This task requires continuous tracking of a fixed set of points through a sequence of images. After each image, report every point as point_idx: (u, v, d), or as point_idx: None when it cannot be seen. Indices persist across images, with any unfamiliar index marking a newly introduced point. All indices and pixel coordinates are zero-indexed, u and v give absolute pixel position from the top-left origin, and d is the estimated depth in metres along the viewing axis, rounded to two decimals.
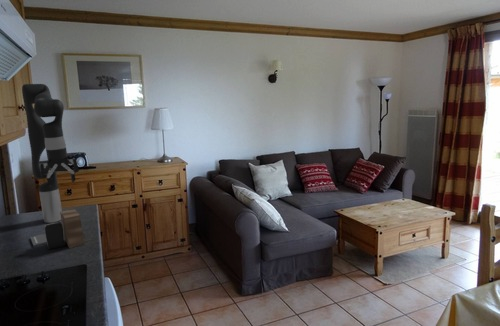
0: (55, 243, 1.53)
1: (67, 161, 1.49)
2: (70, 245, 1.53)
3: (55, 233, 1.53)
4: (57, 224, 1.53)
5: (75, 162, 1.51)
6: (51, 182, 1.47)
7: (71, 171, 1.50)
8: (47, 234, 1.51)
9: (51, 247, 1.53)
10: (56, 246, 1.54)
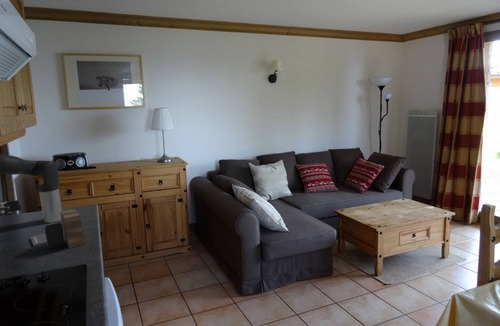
0: (55, 243, 1.53)
1: None
2: (70, 245, 1.53)
3: (55, 233, 1.53)
4: (57, 224, 1.53)
5: None
6: (14, 206, 1.47)
7: None
8: (47, 234, 1.51)
9: (51, 247, 1.53)
10: (56, 246, 1.54)
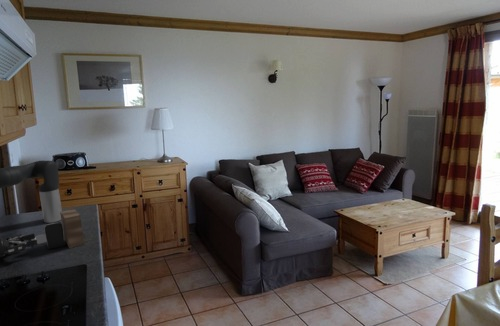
0: (55, 243, 1.53)
1: None
2: (70, 245, 1.53)
3: (55, 233, 1.53)
4: (57, 224, 1.53)
5: None
6: (30, 239, 1.52)
7: None
8: (47, 234, 1.51)
9: (51, 247, 1.53)
10: (56, 246, 1.54)
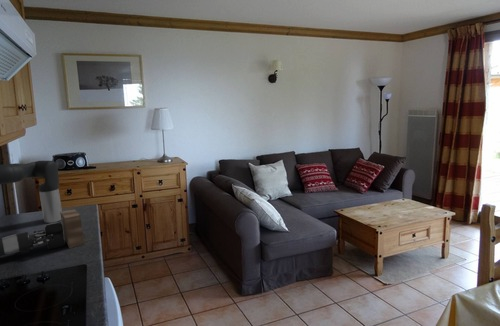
0: (55, 243, 1.53)
1: None
2: (70, 245, 1.53)
3: None
4: (57, 224, 1.53)
5: None
6: None
7: None
8: (47, 234, 1.51)
9: (51, 247, 1.53)
10: (56, 246, 1.54)
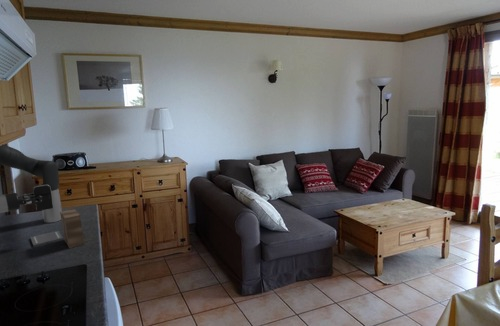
0: (44, 205, 1.58)
1: None
2: (70, 245, 1.53)
3: None
4: (46, 186, 1.57)
5: None
6: None
7: None
8: None
9: (40, 209, 1.57)
10: (45, 208, 1.58)
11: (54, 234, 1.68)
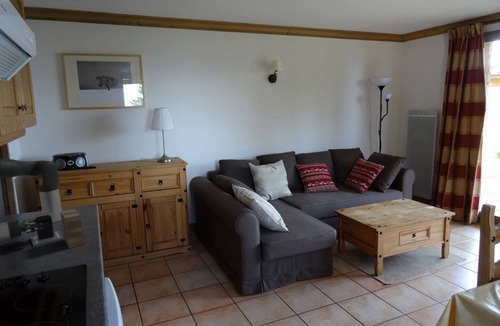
0: (45, 234, 1.62)
1: None
2: (70, 245, 1.53)
3: None
4: (47, 215, 1.62)
5: None
6: None
7: None
8: None
9: (41, 237, 1.62)
10: (46, 236, 1.63)
11: (54, 234, 1.68)
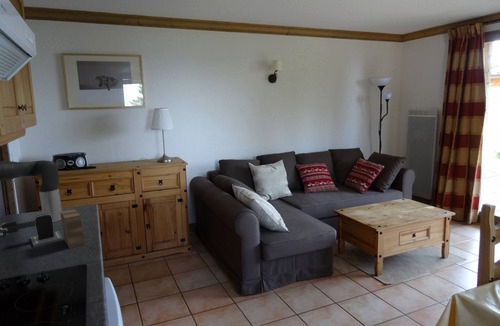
0: (45, 234, 1.62)
1: None
2: (70, 245, 1.53)
3: (45, 224, 1.62)
4: (47, 216, 1.62)
5: None
6: (12, 226, 1.59)
7: None
8: (37, 225, 1.60)
9: (41, 238, 1.62)
10: (46, 236, 1.63)
11: (54, 234, 1.68)
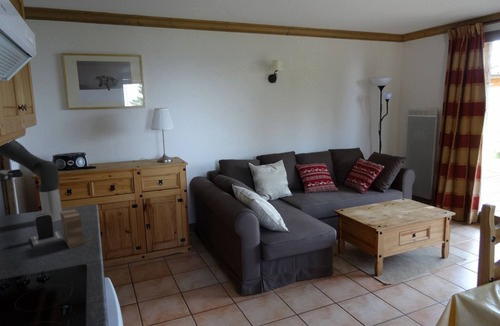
0: (45, 234, 1.62)
1: None
2: (70, 245, 1.53)
3: (45, 224, 1.62)
4: (47, 216, 1.62)
5: None
6: None
7: None
8: (37, 225, 1.60)
9: (41, 238, 1.62)
10: (46, 236, 1.63)
11: (54, 234, 1.68)
